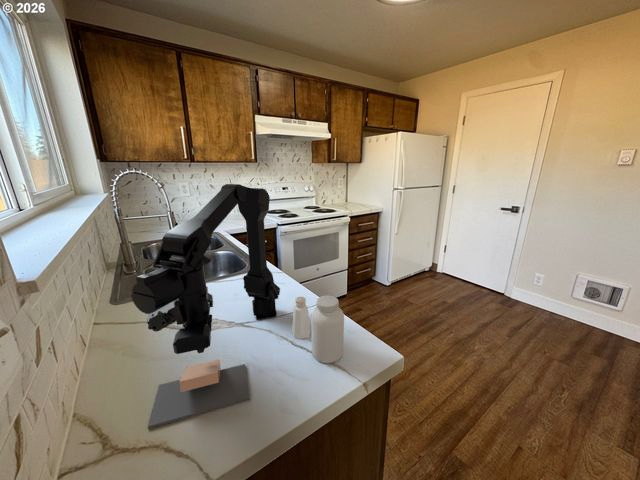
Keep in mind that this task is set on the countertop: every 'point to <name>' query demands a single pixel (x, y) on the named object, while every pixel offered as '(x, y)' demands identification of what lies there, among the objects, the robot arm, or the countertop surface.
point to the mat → (199, 397)
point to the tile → (200, 375)
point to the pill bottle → (327, 330)
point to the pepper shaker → (301, 319)
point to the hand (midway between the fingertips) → (201, 351)
